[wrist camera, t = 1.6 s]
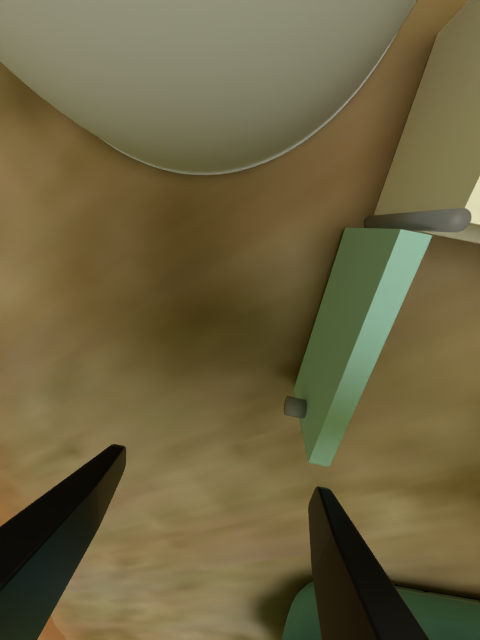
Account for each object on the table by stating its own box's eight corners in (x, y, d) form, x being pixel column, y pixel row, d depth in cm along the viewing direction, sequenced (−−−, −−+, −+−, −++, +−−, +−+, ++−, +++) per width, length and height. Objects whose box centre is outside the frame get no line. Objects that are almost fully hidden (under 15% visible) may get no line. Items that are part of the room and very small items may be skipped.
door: (326, 223, 16) (369, 223, 9) (364, 231, 16) (432, 235, 9) (279, 385, 20) (286, 458, 14) (308, 391, 20) (329, 467, 14)
